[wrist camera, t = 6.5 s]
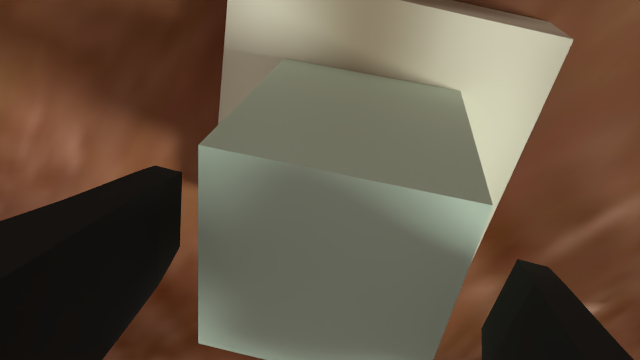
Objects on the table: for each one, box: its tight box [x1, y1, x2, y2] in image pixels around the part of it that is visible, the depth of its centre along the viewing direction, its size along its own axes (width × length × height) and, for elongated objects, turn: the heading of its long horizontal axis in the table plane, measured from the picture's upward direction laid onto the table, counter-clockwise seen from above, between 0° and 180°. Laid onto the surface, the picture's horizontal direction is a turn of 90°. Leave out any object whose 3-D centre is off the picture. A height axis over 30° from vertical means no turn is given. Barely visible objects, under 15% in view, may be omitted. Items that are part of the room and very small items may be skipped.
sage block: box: [198, 59, 493, 360], centre depth 11 cm, size 5×5×6 cm
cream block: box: [218, 0, 574, 262], centre depth 15 cm, size 9×9×3 cm
